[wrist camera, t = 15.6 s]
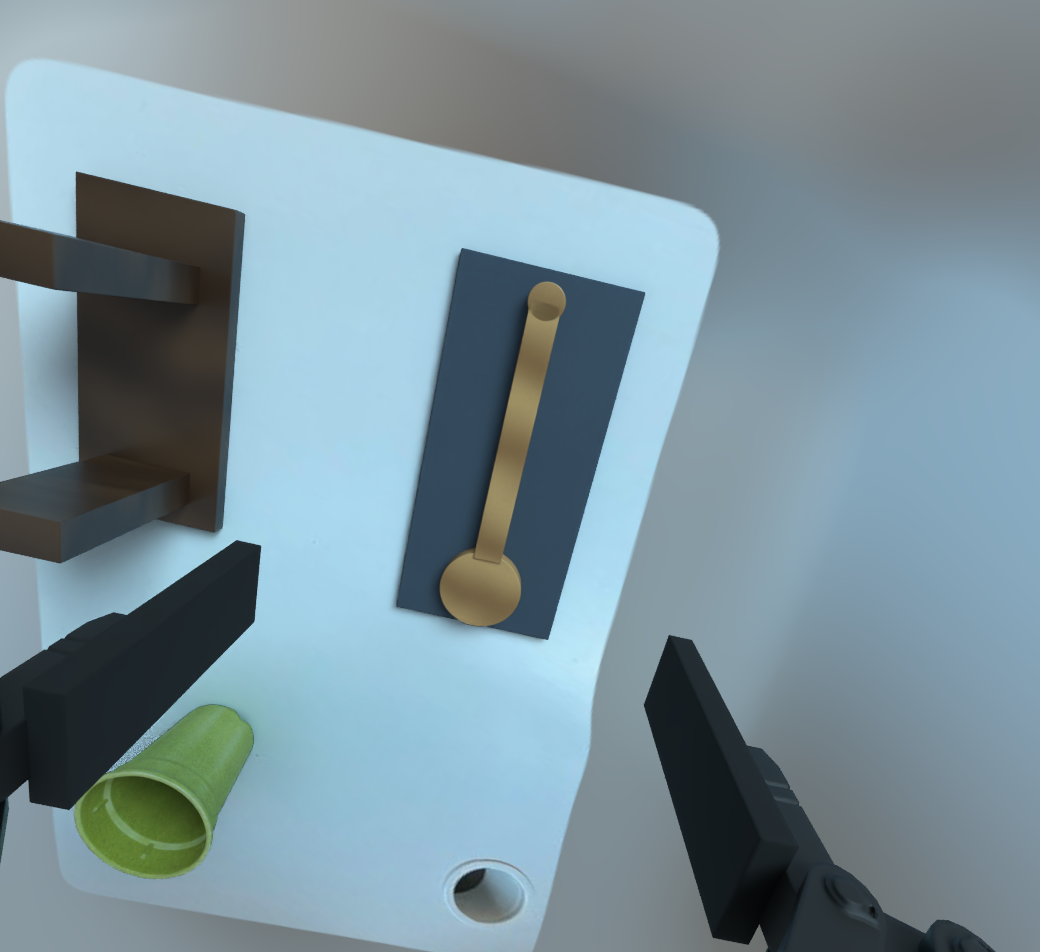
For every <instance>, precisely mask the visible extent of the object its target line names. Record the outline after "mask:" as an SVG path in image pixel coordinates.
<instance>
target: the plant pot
mask: <svg viewBox="0 0 1040 952" xmlns="http://www.w3.org/2000/svg"><path fill="white" fill-rule="evenodd" d="M253 743H254V737H253V732H252V729H251V727H250V725H249V724H248V723H246V722H244V721H243V720H242V719H241V718H240V717H239V716H238V715H237V713H236V711H234V710H232V709H230V708H228V707H224V706H221V705H205V706H201V707H198V708H197V709H195V710H193V711H192V712H190V713H189V714H187V715H186V716H185V717H184V718H183V719H181V720H180V721H179V722H178V723H176V724H175V725H174V726H173V727H172V728H170V729H169V730H168V731H167V732H166V733H164V734H163V735H162V736H161V737H159V738H158V739H157V740H156V741H154V742H153V743H152V744H151V745H149V746H148V747H147V748H146V749H144V750H143V751H142V752H141V753H139V754H138V755H137V756H136V757H135V758H133V759H132V760H131V761H130V762H127V763H125V764H123V765H121V766H119V767H118V768H116V769H115V770H114V771H112V772H108V773H106V774H104V775H103V776H102V777H101V778H100V779H99V780H98V781H97V782H96V783H95V784H94V785H93V786H92V787H91V788H90V789H89V790H88V791H87V792H86V793H85V794H84V795H83V796H82V797H81V798H80V799H79V800H78V802H77V803H76V805H75V810H74V818H75V824H76V828H77V831H78V833H79V835H80V837H81V838H82V840H83V842H84V843H85V844H86V845H87V847H88V848H89V849H90V850H91V851H92V852H93V853H94V854H95V855H96V856H97V857H98V858H99V859H101V860H102V861H103V862H105V863H106V864H108V865H110V866H111V867H113V868H115V869H117V870H119V871H121V872H124V873H126V874H129V875H133V876H137V877H140V878H148V879H167V878H172V877H176V876H180V875H183V874H186V873H188V872H190V871H191V870H193V869H194V868H196V867H197V866H198V865H199V864H200V863H201V862H202V861H203V860H204V858H205V857H206V855H207V853H208V851H209V849H210V847H211V844H212V839H213V830H214V828H215V825H216V822H217V816H218V814H219V812H220V810H221V808H222V806H223V804H224V802H225V800H226V798H227V797H228V795H229V793H230V791H231V789H232V787H233V785H234V783H235V781H236V779H237V777H238V775H239V773H240V771H241V769H242V767H243V766H244V764H245V762H246V760H247V758H248V756H249V754H250V752H251V750H252V747H253Z"/></svg>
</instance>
